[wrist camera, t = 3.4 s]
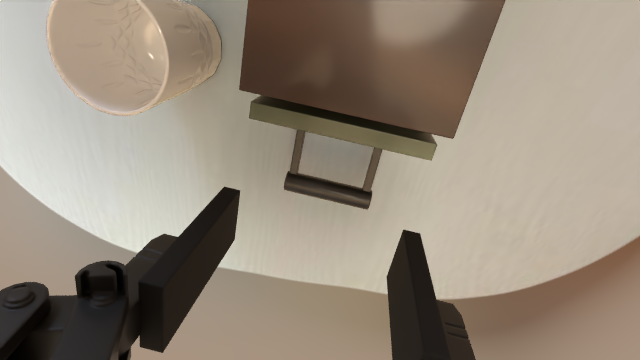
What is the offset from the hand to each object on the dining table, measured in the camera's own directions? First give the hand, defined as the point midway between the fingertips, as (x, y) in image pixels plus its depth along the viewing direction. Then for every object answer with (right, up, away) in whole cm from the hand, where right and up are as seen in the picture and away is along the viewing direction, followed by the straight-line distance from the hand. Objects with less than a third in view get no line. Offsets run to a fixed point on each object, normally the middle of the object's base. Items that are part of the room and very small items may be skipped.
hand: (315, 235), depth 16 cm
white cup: (-12, +14, +14) cm, 23 cm away
